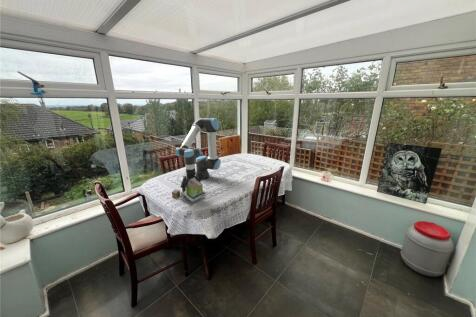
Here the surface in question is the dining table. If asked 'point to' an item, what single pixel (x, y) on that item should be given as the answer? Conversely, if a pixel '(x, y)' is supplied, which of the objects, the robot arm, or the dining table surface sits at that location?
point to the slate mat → (191, 201)
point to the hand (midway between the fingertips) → (192, 191)
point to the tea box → (193, 190)
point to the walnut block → (176, 193)
